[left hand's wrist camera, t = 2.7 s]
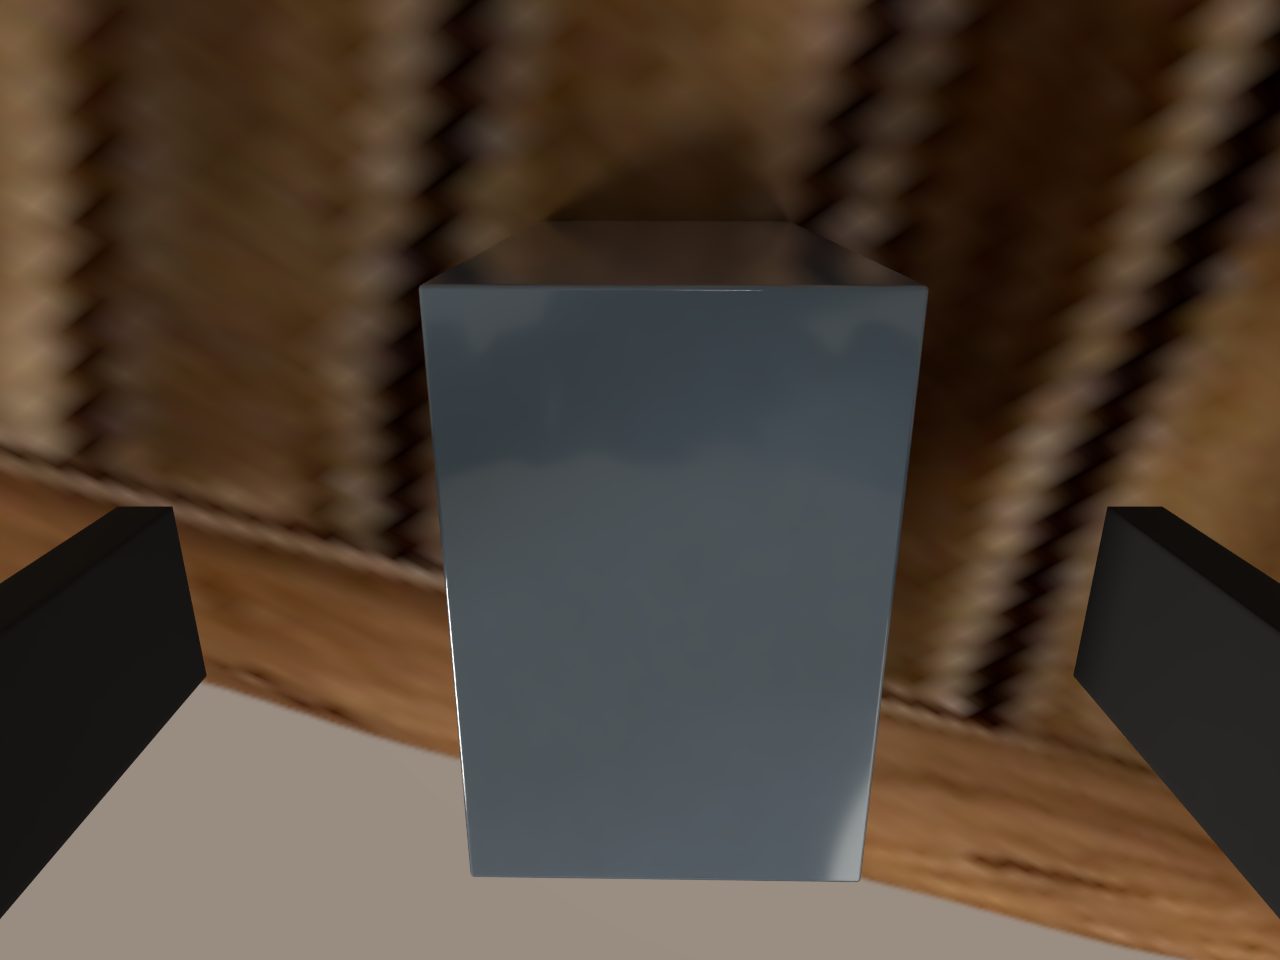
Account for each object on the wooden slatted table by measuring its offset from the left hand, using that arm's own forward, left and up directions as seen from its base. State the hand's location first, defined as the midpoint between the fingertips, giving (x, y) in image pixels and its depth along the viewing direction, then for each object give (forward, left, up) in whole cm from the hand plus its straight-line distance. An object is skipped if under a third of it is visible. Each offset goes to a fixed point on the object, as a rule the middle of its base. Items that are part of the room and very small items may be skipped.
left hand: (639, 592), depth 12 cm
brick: (0, 0, -10) cm, 10 cm away
